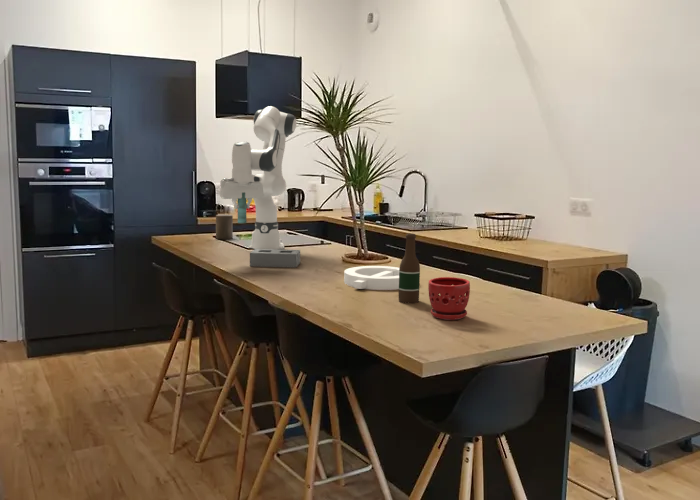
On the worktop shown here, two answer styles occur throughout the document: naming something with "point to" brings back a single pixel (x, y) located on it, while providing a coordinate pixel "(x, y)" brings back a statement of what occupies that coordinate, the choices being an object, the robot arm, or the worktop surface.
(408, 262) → the beer bottle
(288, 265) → the socket block
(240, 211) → the teal peg
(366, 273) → the ring with crossbar
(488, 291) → the worktop surface
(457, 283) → the plant pot
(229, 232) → the pillar candle
